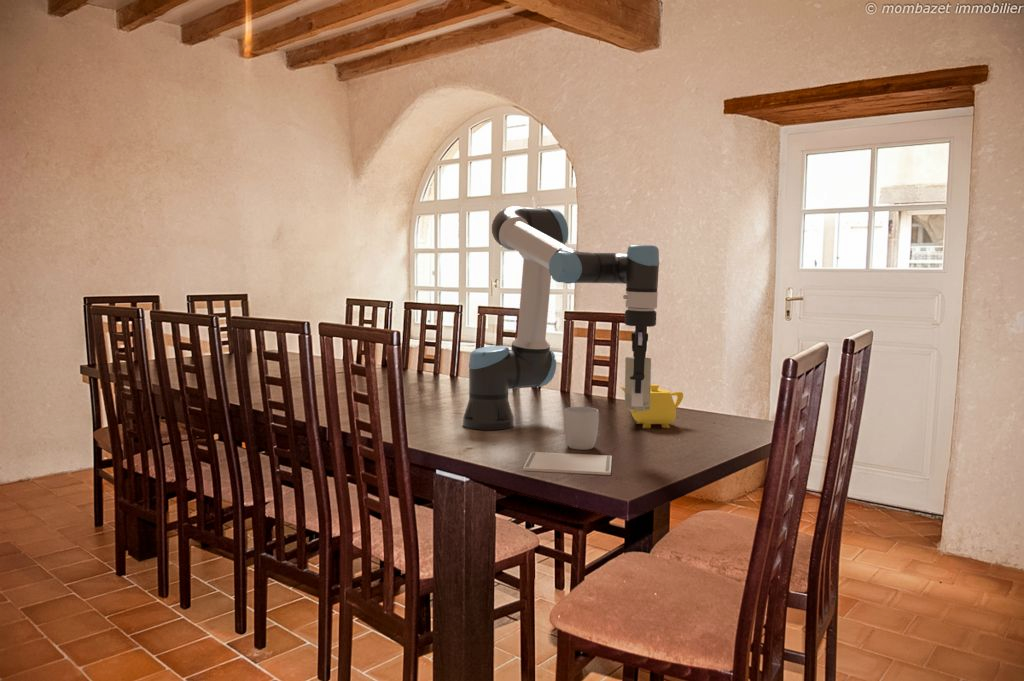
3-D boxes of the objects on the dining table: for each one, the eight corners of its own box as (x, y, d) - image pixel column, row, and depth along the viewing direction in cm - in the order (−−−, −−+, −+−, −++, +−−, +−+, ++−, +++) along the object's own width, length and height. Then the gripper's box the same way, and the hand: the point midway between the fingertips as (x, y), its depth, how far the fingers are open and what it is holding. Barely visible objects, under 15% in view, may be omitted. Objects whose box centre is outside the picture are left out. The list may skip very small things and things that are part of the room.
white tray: (531, 454, 187) (531, 451, 187) (611, 458, 184) (611, 455, 184) (522, 470, 171) (522, 467, 171) (610, 475, 168) (610, 472, 168)
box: (650, 410, 181) (652, 358, 180) (636, 412, 179) (638, 359, 177) (636, 406, 186) (638, 355, 184) (622, 408, 183) (624, 356, 182)
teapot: (612, 421, 231) (613, 381, 230) (674, 420, 233) (675, 381, 232) (624, 430, 217) (626, 388, 216) (690, 429, 220) (691, 387, 219)
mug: (603, 450, 192) (604, 412, 191) (570, 452, 189) (571, 413, 189) (585, 439, 204) (586, 403, 203) (554, 441, 202) (555, 404, 201)
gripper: (625, 306, 190) (621, 395, 192) (625, 311, 171) (621, 410, 173) (655, 307, 189) (650, 397, 191) (658, 312, 169) (653, 412, 172)
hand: (636, 403), depth 182 cm, fingers closed on box, 6 cm apart
